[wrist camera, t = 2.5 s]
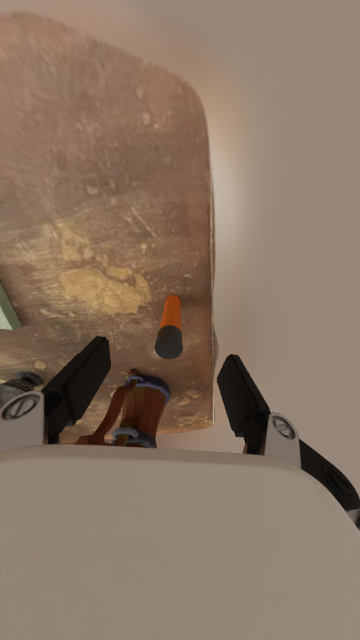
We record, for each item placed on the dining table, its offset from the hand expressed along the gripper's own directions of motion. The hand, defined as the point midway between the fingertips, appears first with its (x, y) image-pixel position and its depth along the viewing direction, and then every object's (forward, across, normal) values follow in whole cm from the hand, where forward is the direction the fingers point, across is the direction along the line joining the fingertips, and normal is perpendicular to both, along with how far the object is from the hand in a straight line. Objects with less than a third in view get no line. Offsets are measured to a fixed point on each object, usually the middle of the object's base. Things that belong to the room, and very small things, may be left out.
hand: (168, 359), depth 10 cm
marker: (+12, 0, -1) cm, 12 cm away
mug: (+12, +4, +20) cm, 24 cm away
